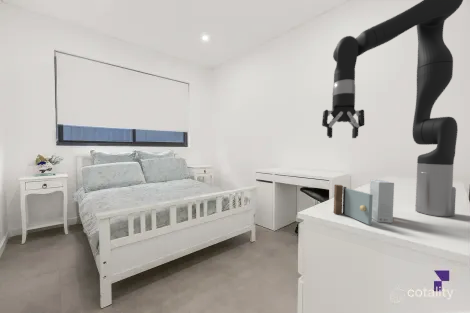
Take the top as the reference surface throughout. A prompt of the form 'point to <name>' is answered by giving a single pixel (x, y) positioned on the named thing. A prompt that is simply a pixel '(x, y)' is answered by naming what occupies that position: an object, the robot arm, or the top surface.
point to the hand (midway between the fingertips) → (342, 137)
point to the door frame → (339, 199)
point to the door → (358, 205)
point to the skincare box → (382, 200)
